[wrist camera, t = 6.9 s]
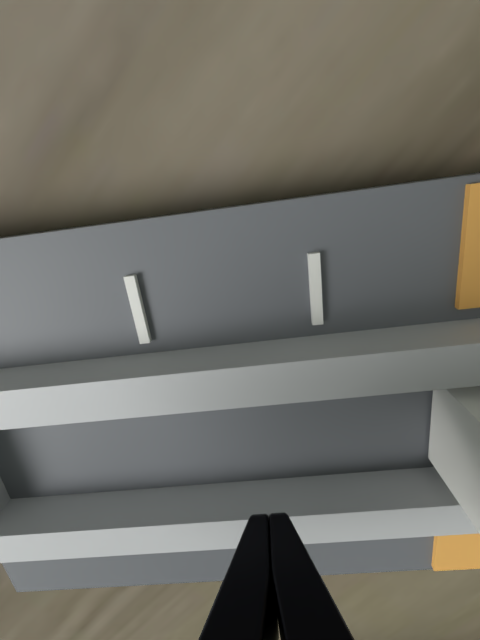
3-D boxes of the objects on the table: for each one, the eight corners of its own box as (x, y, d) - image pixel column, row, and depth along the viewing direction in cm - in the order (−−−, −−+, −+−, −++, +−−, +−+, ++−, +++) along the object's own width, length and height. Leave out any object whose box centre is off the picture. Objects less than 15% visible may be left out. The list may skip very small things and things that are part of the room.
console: (634, 507, 14) (749, 601, 11) (44, 545, 16) (-10, 635, 13) (765, 134, 9) (1037, 100, 6) (-91, 249, 11) (-230, 270, 8)
